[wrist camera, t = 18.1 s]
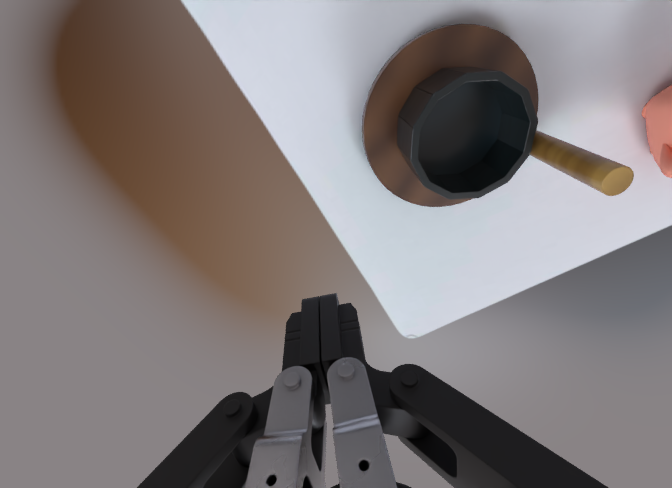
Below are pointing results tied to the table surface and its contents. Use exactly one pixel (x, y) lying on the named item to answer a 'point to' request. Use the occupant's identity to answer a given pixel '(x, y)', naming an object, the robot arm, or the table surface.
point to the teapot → (660, 129)
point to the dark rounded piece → (465, 121)
